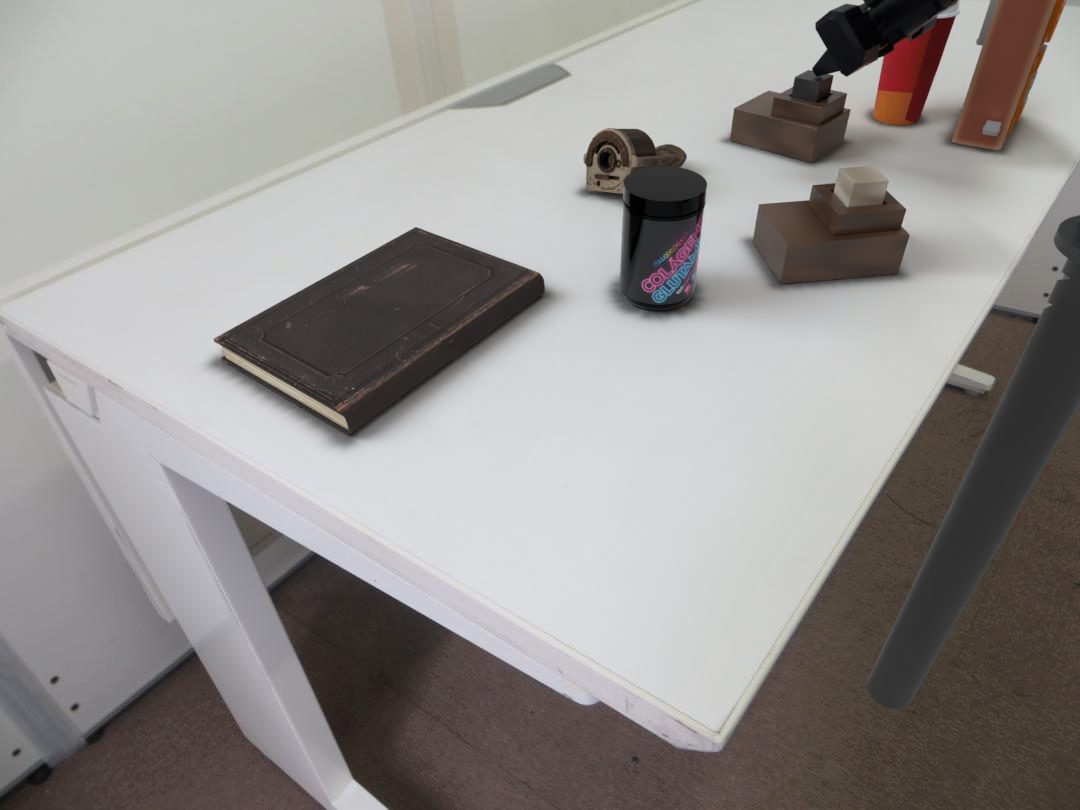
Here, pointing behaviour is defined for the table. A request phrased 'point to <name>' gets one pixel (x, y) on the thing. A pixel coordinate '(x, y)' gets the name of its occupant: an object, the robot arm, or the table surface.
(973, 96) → the control panel
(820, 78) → the black key
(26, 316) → the table surface
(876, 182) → the ivory key
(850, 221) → the brown push button box
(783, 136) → the push button base
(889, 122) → the paper cup
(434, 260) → the hardcover book
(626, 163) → the mechanical counter
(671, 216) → the supplement container
